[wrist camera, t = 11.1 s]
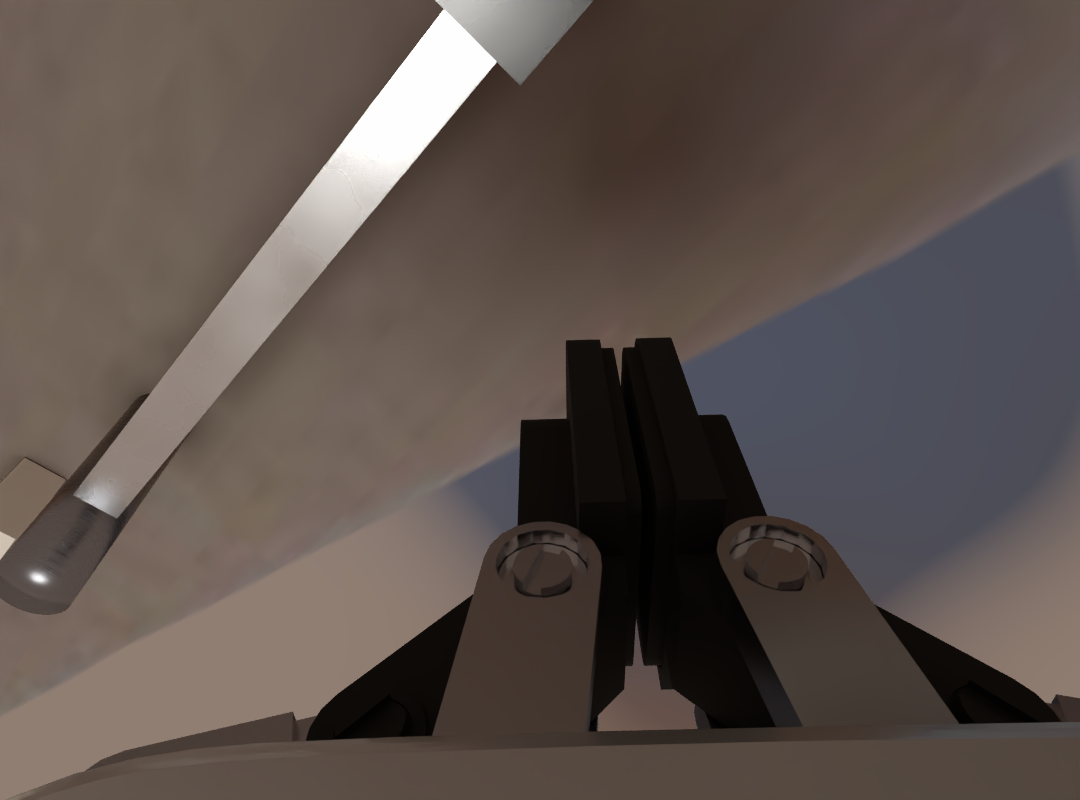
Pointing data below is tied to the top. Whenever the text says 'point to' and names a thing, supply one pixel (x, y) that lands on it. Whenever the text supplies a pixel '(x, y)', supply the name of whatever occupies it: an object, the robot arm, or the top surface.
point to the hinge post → (66, 539)
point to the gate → (329, 220)
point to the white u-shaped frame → (24, 499)
